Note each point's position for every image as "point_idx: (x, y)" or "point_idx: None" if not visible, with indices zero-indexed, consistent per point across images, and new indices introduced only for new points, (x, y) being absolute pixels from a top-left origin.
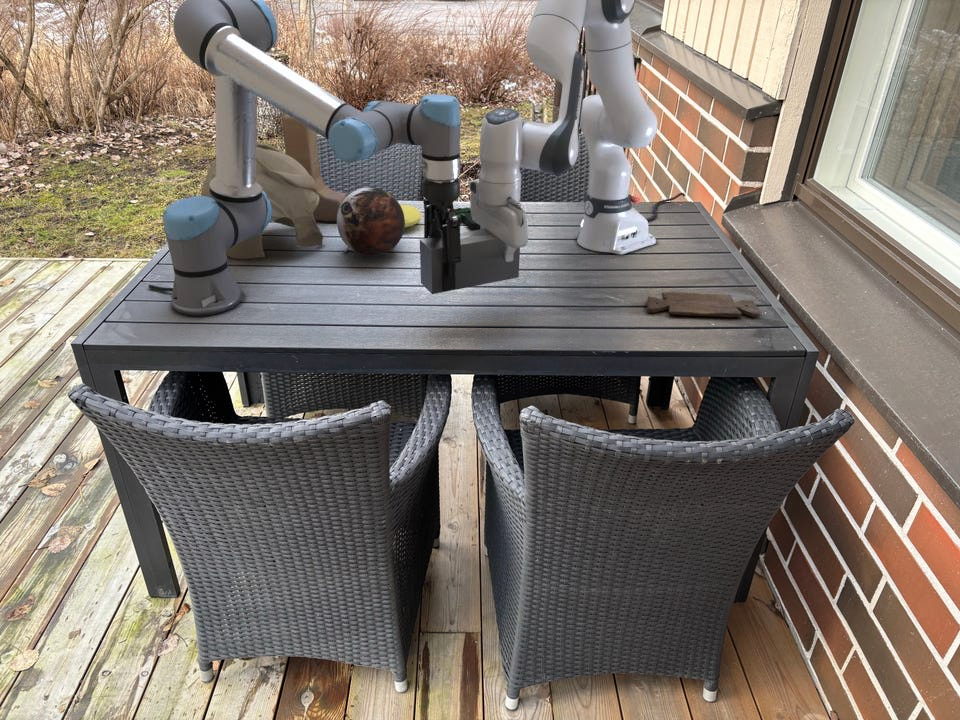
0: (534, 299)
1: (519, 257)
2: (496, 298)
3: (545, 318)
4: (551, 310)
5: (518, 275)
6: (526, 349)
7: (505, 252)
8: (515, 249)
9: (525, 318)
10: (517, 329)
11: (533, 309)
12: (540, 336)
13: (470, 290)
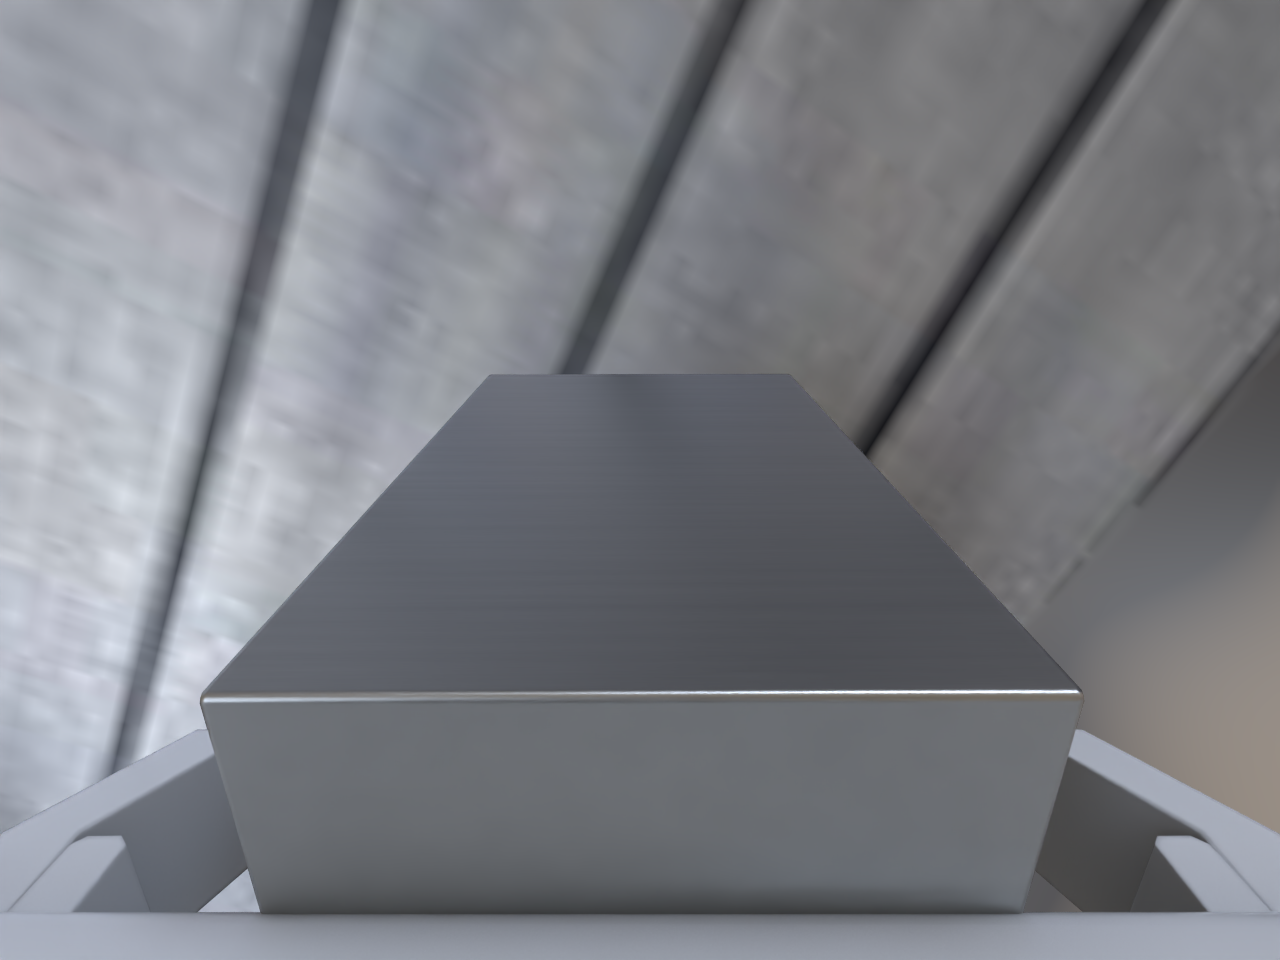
0: (579, 48)
1: (859, 450)
2: (457, 327)
3: (896, 152)
4: (812, 22)
5: (794, 381)
6: (1142, 484)
7: (1044, 865)
8: (1206, 802)
9: (820, 291)
10: (918, 415)
11: (729, 158)
12: (1078, 329)
13: (279, 433)
